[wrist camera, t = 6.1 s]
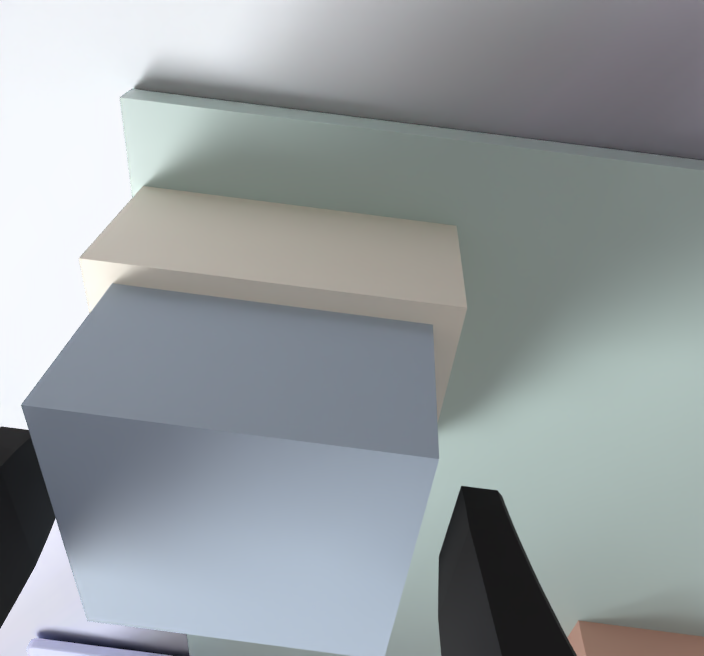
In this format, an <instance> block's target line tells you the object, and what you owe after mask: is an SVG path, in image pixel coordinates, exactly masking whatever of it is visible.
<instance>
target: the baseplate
mask: <svg viewBox="0 0 704 656" xmlns="http://www.w3.org/2000/svg"><path fill="white" fill-rule="evenodd" d="M120 103H121V111H122V119H123V127H124V135H125V143H126V151H127V159H128V167H129V175H130V184H131V192H132V198H133V197H134V196H135V194H136V193H137V192H138V191H139V190H140V189H141V188H142V186H148V187H156V188H163V189H171V190H179V191H187V192H195V193H203V194H211V195H219V196H227V197H234V198H242V199H250V200H258V201H266V202H274V203H282V204H290V205H298V206H305V207H313V208H321V209H329V210H337V211H345V212H353V213H361V214H369V215H376V216H384V217H392V218H400V219H408V220H416V221H424V222H432V223H440V224H447V225H455V226H457V232H458V239H459V247H460V255H461V263H462V270H463V278H464V286H465V293H466V301H467V311H466V315H465V319H464V323H463V327H462V331H461V334H460V338H459V342H458V346H457V350H456V354H455V358H454V362H453V365H452V369H451V373H450V377H449V381H448V385H447V389H446V393H445V396H444V400H443V404H442V408H441V412H440V416H439V420H438V444H439V462H438V465H437V469H436V473H435V476H434V480H433V483H432V487H431V491H430V494H429V498H428V502H427V505H426V509H425V512H424V516H423V520H422V523H421V527H420V531H419V534H418V538H417V541H416V545H415V549H414V552H413V556H412V560H411V563H410V567H409V570H408V574H407V578H406V581H405V585H404V588H403V592H402V596H401V599H400V603H399V607H398V610H397V614H396V617H395V621H394V625H393V628H392V632H391V636H390V639H389V643H388V646H387V650H386V654H385V656H441V647H440V635H439V623H438V573H439V554H440V551H441V548H442V545H443V542H444V538H445V535H446V532H447V529H448V526H449V523H450V519H451V516H452V513H453V510H454V507H455V504H456V501H457V497H458V494H459V491H460V488H461V486H468V487H475V488H483V489H491V490H498V492H499V493H500V494H501V495H502V497H503V500H504V502H505V505H506V507H507V510H508V512H509V515H510V517H511V520H512V522H513V525H514V527H515V530H516V532H517V534H518V537H519V539H520V541H521V543H522V546H523V548H524V550H525V552H526V555H527V557H528V559H529V561H530V563H531V566H532V568H533V570H534V572H535V574H536V576H537V579H538V581H539V583H540V585H541V587H542V589H543V591H544V593H545V595H546V597H547V599H548V601H549V603H550V605H551V607H552V609H553V611H554V613H555V615H556V617H557V619H558V621H559V623H560V625H561V627H562V629H563V631H564V633H565V634H566V636H567V638H568V636H569V634H570V633H571V631H572V629H573V628H574V626H575V625H576V623H577V621H578V620H579V621H587V622H595V623H602V624H610V625H618V626H626V627H633V628H641V629H649V630H656V631H664V632H672V633H680V634H687V635H695V636H703V637H704V160H696V159H688V158H680V157H672V156H664V155H656V154H648V153H640V152H632V151H624V150H616V149H608V148H600V147H592V146H584V145H576V144H568V143H560V142H552V141H544V140H536V139H528V138H520V137H512V136H504V135H496V134H488V133H480V132H472V131H464V130H456V129H448V128H440V127H432V126H424V125H416V124H408V123H400V122H392V121H384V120H376V119H368V118H361V117H353V116H345V115H337V114H329V113H321V112H313V111H305V110H297V109H289V108H281V107H273V106H265V105H257V104H249V103H241V102H233V101H225V100H217V99H209V98H201V97H193V96H185V95H177V94H169V93H161V92H153V91H145V90H137V89H131V90H129V91H128V92H127V93H125V94H124V95H122V96H121V97H120ZM187 640H188V648H189V656H350V655H342V654H335V653H327V652H319V651H312V650H304V649H296V648H289V647H281V646H274V645H266V644H258V643H251V642H243V641H235V640H228V639H220V638H213V637H205V636H197V635H190V634H187Z"/></svg>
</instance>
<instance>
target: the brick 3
mask: <svg viewBox="0 0 704 656" xmlns="http://www.w3.org/2000/svg"><path fill="white" fill-rule="evenodd" d="M568 640H569V642H570V644H571V646H572V647H573V649H574V651H575V653H576V655H577V656H704V637H703V636H695V635H687V634H680V633H672V632H664V631H656V630H649V629H641V628H633V627H626V626H618V625H610V624H602V623H595V622H587V621H579V620H578V621H577V623H576V625H575V626H574V628H573V629H572V631H571V633H570V634H569V636H568Z"/></svg>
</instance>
